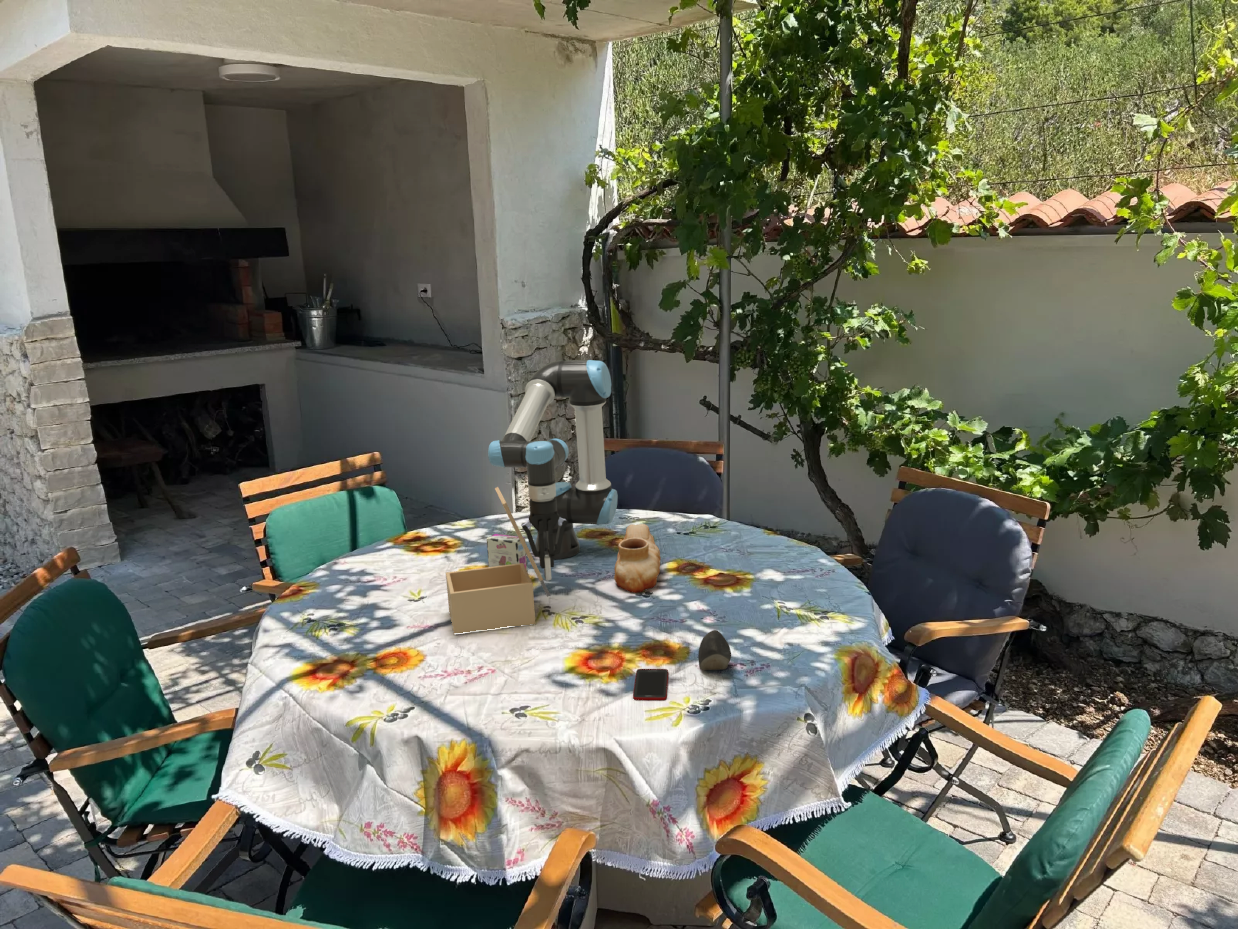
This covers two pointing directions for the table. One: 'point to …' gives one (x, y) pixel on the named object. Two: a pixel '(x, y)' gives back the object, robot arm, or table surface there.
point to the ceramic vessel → (637, 560)
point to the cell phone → (651, 685)
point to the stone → (714, 652)
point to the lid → (522, 541)
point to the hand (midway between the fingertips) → (548, 578)
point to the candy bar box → (505, 550)
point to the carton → (490, 598)
